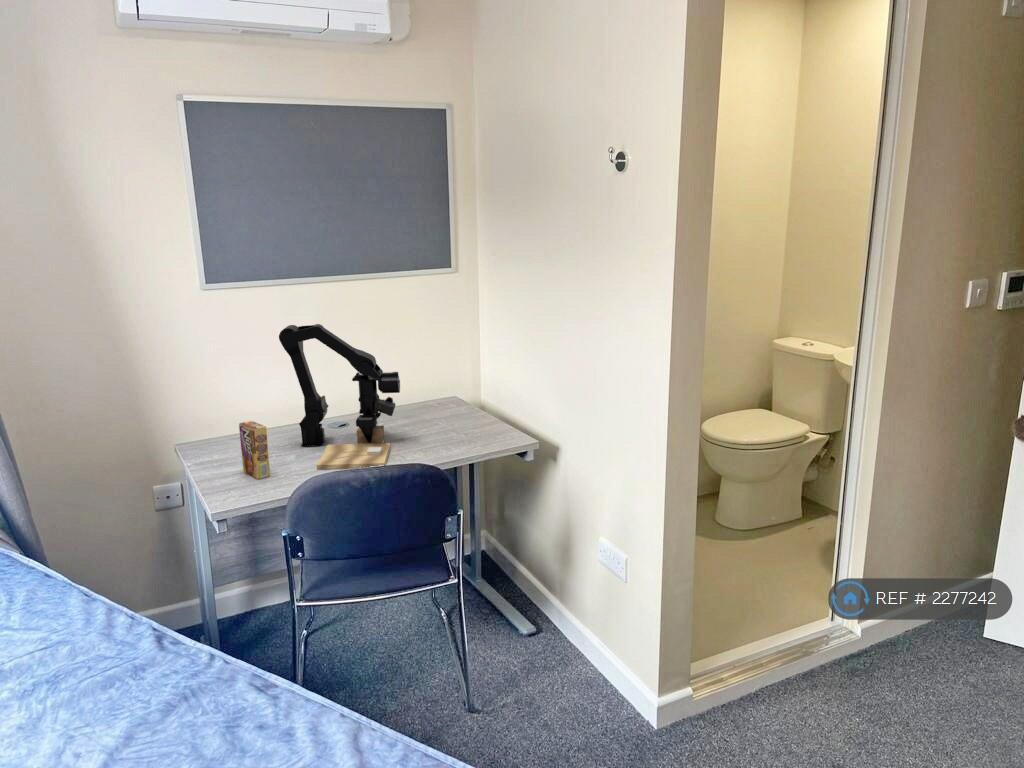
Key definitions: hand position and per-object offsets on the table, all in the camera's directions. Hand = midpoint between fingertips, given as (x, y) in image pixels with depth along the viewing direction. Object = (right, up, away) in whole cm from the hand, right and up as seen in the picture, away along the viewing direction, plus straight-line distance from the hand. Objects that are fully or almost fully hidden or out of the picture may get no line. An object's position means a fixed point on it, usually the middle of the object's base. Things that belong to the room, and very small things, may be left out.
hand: (371, 438), depth 246 cm
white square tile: (+4, -3, -14) cm, 15 cm away
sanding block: (0, -1, 0) cm, 1 cm away
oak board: (-2, -5, -14) cm, 15 cm away
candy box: (-29, -9, -26) cm, 40 cm away
